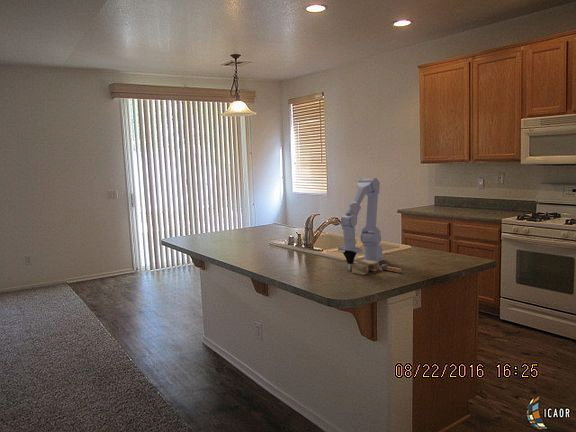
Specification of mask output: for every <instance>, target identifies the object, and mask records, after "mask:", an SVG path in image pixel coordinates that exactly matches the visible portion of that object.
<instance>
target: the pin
mask: <svg viewBox="0 0 576 432" xmlns="http://www.w3.org/2000/svg"><path fill="white" fill-rule="evenodd" d="M358 262H359V261H354V262H353V263H350V264H348V263H347V265H348V266H347V267H348V268H347V269H348V271H352V264H354V263H358Z"/></svg>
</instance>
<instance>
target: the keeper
mask: <svg viewBox="0 0 576 432" xmlns="http://www.w3.org/2000/svg"><path fill="white" fill-rule="evenodd" d="M381 270H382V271H390V272H395V273H402V272H403V268H399V267H396V266H395V267H394V266H389V265H388V264H385V263H384V264H383V263H382V264H381Z"/></svg>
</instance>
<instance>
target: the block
mask: <svg viewBox="0 0 576 432" xmlns="http://www.w3.org/2000/svg"><path fill="white" fill-rule="evenodd" d="M357 262H358V263H354V264H352V270H351V273H353V274H357V275H362V276H364V275H366V274H369V271H371V272H377V271H380V261H373V260H365V261H361V260H360V261H357Z"/></svg>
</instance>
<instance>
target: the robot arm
mask: <svg viewBox="0 0 576 432" xmlns="http://www.w3.org/2000/svg"><path fill="white" fill-rule="evenodd" d="M380 185H381V184H380V181H379V179H378V178H377V177H371V178H365V177H364V178H362V177H361V178H359V179H358V181H357V184H356V187H357V190H356V191H357V192H356V194H355V197H354V199H353V201H352V202H350V204H349V205H348V207H347V210H346V212H345V214H344V215H342V217H341V218H340V221H339V222H340V225H341V228H342V230H343V233H342V234H343V245H339V246H337V250H338V251H343V252H342V253H343V254H342V255H344V257H345V259H346V260H345V261H346V263H347V265H348V264H350V263H353V262H355V258H356V256H357V254H364V259H362V260H360V262H361V261H365V260H373V261H379V262H381V261H384V258H383V248H382V245H381V244H380V243H381V241H382V235H381V230H380V229H379V228H378V227H377V216H378V215H377V213H378V199H379V194H380V188H381V187H380ZM365 196H367V204H366V218H365V222H366V223H365V226H364V227H363V228H362V229H361V234H360V237H359V239H360V242H361V243H362V245H363V248H361V247H360V248H359V247H357V246H356V225H357V224H358V215H359V213H360V210H361V203H362V202H363V200H364V198H365ZM363 250H364V251H363ZM363 252H364V253H363Z"/></svg>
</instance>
